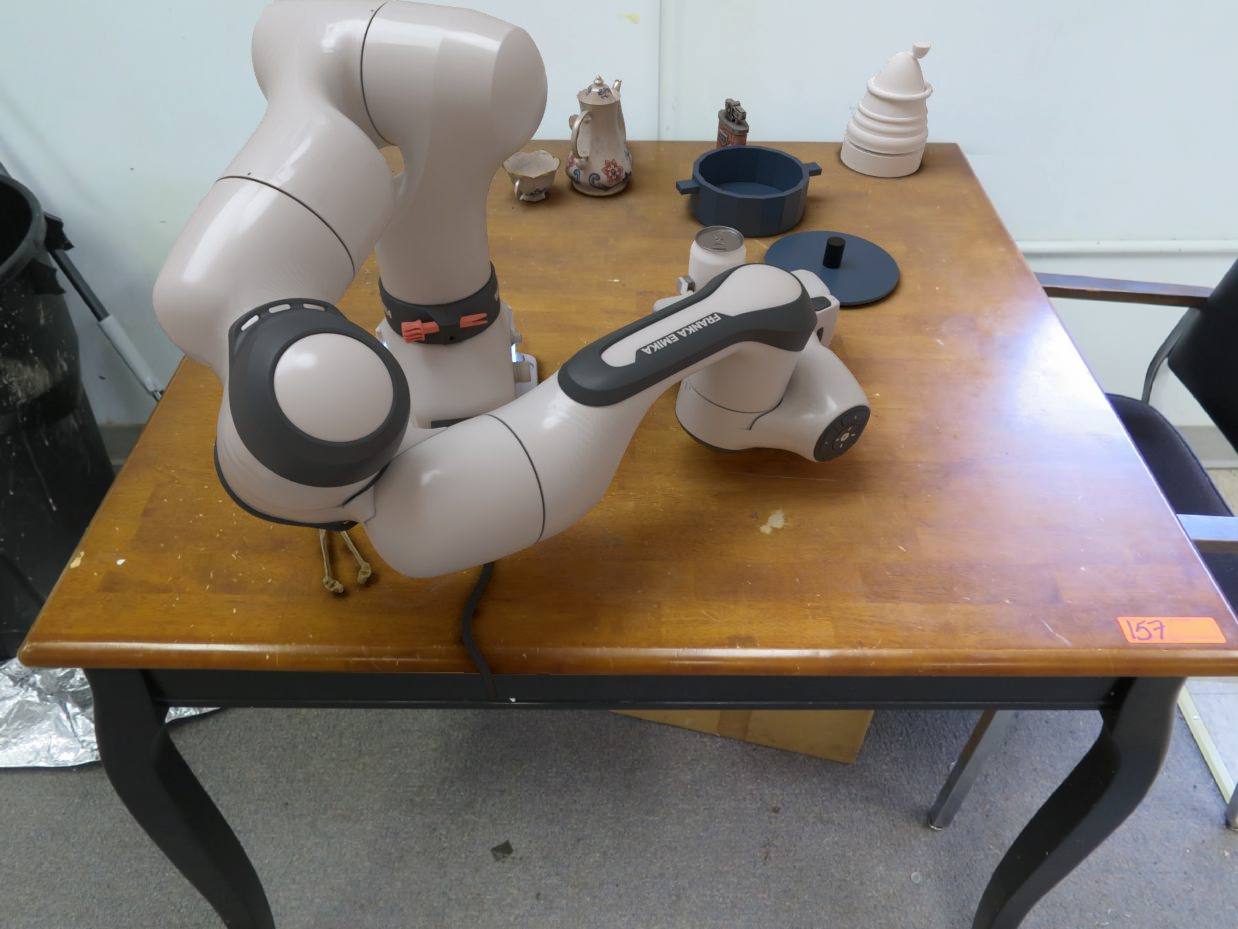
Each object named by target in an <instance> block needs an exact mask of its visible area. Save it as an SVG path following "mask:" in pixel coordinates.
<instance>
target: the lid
mask: <svg viewBox="0 0 1238 929" xmlns="http://www.w3.org/2000/svg"><path fill="white" fill-rule="evenodd" d="M764 263H766V264H771V265H775V266H778V267H781V268H784V269H786V270H788V271H789V272H792V271H796V270H801V269H802V270H807V271H810V272H813V273H814V274H815V275H816V276H818V277H819V278H820V279H821V281H822V282H823V283H824V284H825V285H826V286H827V288H828V289H829V291H830V295H832V296H834V297H835V298H836V299H837V300H838V301H839V302H840V306H856V305H863V304H867V303H872V302H874V301H877V300H880V299H882V298H884V297H886V296H887V295H889V294H890V293H891V292H892V291H893V290H894V289H895V288H896V286H897V284H898V281H899V278H900V277H899V276H900V271H899V267H898V264H897V262H896V261H895V259H894V257H893V256H892V255H891V254H890V253H889V252H887V251H886V249H884V248H882V247H881V246H880V245H878V244H876V243H875V242H872V241H870V240H867V239H865V238H863V237H860V236H857V235H854V234H850V233H845V232H840V231H833V230H807V231H806V230H805V231H800V232H799V231H798V232H794V233H790V234H788V235H785V236H783V237H781V238H779V239H777V240H776V241H774V242H773V243H772V244H771V245H770V246H769V247H768V249H767V250H766V252H765V255H764Z"/></svg>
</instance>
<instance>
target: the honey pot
mask: <svg viewBox="0 0 1238 929" xmlns="http://www.w3.org/2000/svg"><path fill="white" fill-rule="evenodd" d="M931 47H932V45H931V43H930V42H926V41H914V42H913V43H912V47H911V48H912V50H911V51H909V50H901V51H900V52H898V53H896V54H894V55H893V56H892V57H890V59H889V60H887V61H886V63H885V64H884V65H883V66H882V67H881V69H880V70H879V71H878V73H877V74H876V75H874V76H871V77H870V78H869V79H868V80H867V82H866V85H865V86H866V89H867V90H866V91H865V93H864V95H863V97H862V98H861V99H860V100H859V101H858V103H857V107H856V108H855V109H854V111H853V113H852V115H851V117H850V118H849V120H848V121H847V123H846V129H845V133H844V137H843V142H842V146H841V151H840V160H841V161H842V163H843V164H844V165H846V167H847V168H849V169H851V170H853V171H855V172H857V173H860V174H864V175H868V176H872V177H873V176H874V177H879V178H899V177H905V176H909V175H912V174H913V173H915V172H916V171H917V170H919V167H920V165H921V162H922V159H923V155H924V151H925V148H926V144H927V139H928V138H929V128H928V121H929V120H928V116H927V115H928V113H929V110H928V106H927V99H928V98H930V97H931V96H932V94H933V92H934V90H933V86H932V85H931V83H929V81H927V80H925V79H924V76H923V71H922V68H921V65H920V62H919V60H920V59H923V58H925V57H926V56H927V55H928V53H929V52H930V49H931Z"/></svg>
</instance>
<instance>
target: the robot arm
mask: <svg viewBox="0 0 1238 929" xmlns="http://www.w3.org/2000/svg"><path fill="white" fill-rule="evenodd" d="M250 54H251V62H252V68H253V72H254V77H255V79H256V82H257V84H258V87H259V89H260V91H261V93H262V95H263V96H264V98H265V100H266V101H267V106H266V109H265V111H264V115H263V116H262V118H261V120H260V122H259V124H258V125H257V127H255V129H254V130H253V131H252V133H251V134H250V136H249V137H248V138H247V139H246V141H245V143H244V144H243V145H242V146H241V148H240V150H238V152H237V153H236V154H235V156H234V157H233V158H232V160H231V161H230V162H229V164H228V165H227V166H226V167H225V169H224V170H223V172H222V173H221V174H220V175H219V177H217V179H216V180H215V181H214V182H213V184H212V185H211V187H210V188H209V189H208V191H207V192H206V193H205V194H204V196H203V197H202V198H201V199H200V201H199V202H198V204H197V205H196V207H195V208H194V210H193V211H192V213H191V214H190V216H189V217H188V218H187V220H186V221H185V223H184V225H183V227H182V228H181V230H180V232H179V234H178V235H177V237H176V238H175V240H174V242H173V244H172V246H171V248H170V249H169V251H168V254H167V256H166V258H165V260H164V261H163V263H162V267H161V268H160V270H159V273H158V276H157V278H156V279H155V282H154V285H153V289H152V298H151V303H152V310H153V314H154V317H155V319H156V322H157V324H158V325H159V327H160V329H161V331H162V332H163V333H164V335H166V338H168V339H169V341H170V342H171V343H172V344H173V345H174V346H175V347H176V348H177V349H178V350H180V352H182V353H183V354H184V355H186V356H187V357H188V358H190V359H191V360H193V361H194V362H196V363H198V364H200V365H202V366H204V367H206V368H207V369H210V371H211V372H212V373H214V375H215V376H216V377H217V378H218V380H220V382H221V386H222V389H223V393H222V398H221V404H220V408H219V412H218V418H217V423H216V424H217V425H216V426H217V427H216V437H215V441H214V446H213V462H214V467H215V471H216V474H217V477H218V480H219V482H220V484H221V487H222V488H223V490H224V491H225V492H226V494H227V496H228V497H229V498H230V499H231V500H232V502H234V504H236V505H237V506H238V507H239V508H240V509H242V510H243V511H245V512H246V513H247V514H249V515H251V516H253V517H255V518H257V519H260V520H263V521H265V522H270V523H274V524H278V525H284V526H292V527H303V528H312V529H318V530H319V529H324V530H325V531H332V532H338V533H339V532H342V531H346V532H347V531H349V530H351V529H353V528H354V527H356V526H357V525H358V524H360V526H361V527H362V529H363V531H364V532H365V534H366V536H367V538H368V541H369V543H370V545H371V546H372V548H373V549H374V551H375V552H376V554H377V555H378V556H379V557H380V558H381V560H382V561H383V562H384V563H385V564H386V565H388V566H389V568H391V569H392V570H394V571H396V572H397V573H399V574H401V575H403V576H406V577H409V578H413V579H431V578H436V577H440V576H444V575H448V574H454V573H458V572H461V571H465V570H468V569H473V568H476V567H479V566H483V567H482V570H481V572H480V575H479V578H478V579H477V581H476V583H475V585H474V587H473V589H472V590H471V593H470V594H469V596H468V598H467V601H466V602H465V605H464V608H463V611H462V615H461V625H460V628H461V629H460V630H461V637H462V642H463V644H464V647H465V649H466V651H467V653H468V655H469V656H470V658H471V660H472V662H473V663H474V665H475V666H476V669H477V670H478V672H479V674H480V676H481V680H482V681H483V684H484V688H485V692H486V695H487V698H488V699H490V700H495V699H496V698H497V697H498V690H497V686H496V682H495V679H494V676H493V673H492V671H491V669H490V667H489V665H488V663H487V661H486V659H485V658H484V656H483V654H482V653H481V652H480V650H479V648H478V646H477V645H476V642H475V640H474V638H473V632H472V619H473V615H474V611H475V609H476V606H477V603H478V601H479V599H480V597H481V595H482V594H483V591H484V590H485V588H486V586H487V584H488V581H489V579H490V577H491V574H492V572H493V567H494V562H496V561H498V560H500V559H503V558H506V557H508V556H511V555H514V554H516V553H518V552H519V553H520V552H521V551H523V550H525V549H528V548H530V547H532V546H535V545H537V544H539V543H541V542H543V541H546V540H548V539H550V538H552V537H555V536H557V535H559V534H560V533H562V532H565V531H566V530H567V529H569V528H570V527H572V526H574V525H575V524H576V523H577V522H579V521H580V520H581V519H583V518H584V517H586V516H587V514H589V513H590V512H591V511H592V510H594V509H595V508H596V506H598V504H600V503H601V501H602V499H603V498H604V496H605V495H606V494H607V491H608V489H609V487H610V485H611V483H612V481H613V479H614V477H615V476H616V475H615V474H616V472H617V470H618V468H619V466H620V464H621V461H622V459H623V457H624V455H625V453H626V451H627V448H628V447H629V445H630V442H631V441H632V439H633V437H634V435H635V433H636V431H637V429H638V427H639V426H640V424H641V422H642V421H643V419H644V418H645V416H646V414H647V413H648V411H649V410H650V409H651V407H653V405H654V403H655V402H656V401H657V400H658V399H659V397H661V396H662V395H663V394H664V393H665V392H666V391H667V390H668V389H669V388H671V387H672V386H674V385H675V384H677V383H679V382H680V386H679V389H678V393H677V397H676V402H675V405H674V414H675V417H676V419H677V422H678V423H679V425H680V427H681V428H682V430H683V431H684V432H685V433H686V435H687V436H689V437H690V439H692V440H693V441H695V443H697V444H699V445H700V446H702V447H703V448H705V449H706V450H709V451H711V452H714V453H718V454H735V453H742V452H747V451H752V450H755V449H760V448H765V449H766V448H767V449H777V450H783V451H784V450H785V451H788V452H792V453H795V454H797V455H799V456H801V457H803V458H805V459H806V460H809V461H811V462H813V463H826V462H830V461H833V460H835V459H837V458H839V457H840V456H842V455H844V454H846V452H848V450H850V449H851V448H852V447H853V446H854V445H855V444H856V443H857V442H858V440H859V439H860V437H861V436H862V435H863V433H864V430H865V429H866V427H867V425H868V422H869V420H870V417H871V413H872V409H871V404H870V402H869V399H868V397H867V395H866V392H865V391H864V389H863V387H862V386H861V384H860V383H859V381H858V380H857V378H856V377H855V376H854V374H853V373H852V371H850V369H849V368H848V367H847V366H846V365H845V363H844V362H843V361H842V360H841V359H840V358H839V357H838V355H836V353H834V351H832V350H831V349H829V348H830V346H831V343H832V341H833V338H834V334H835V331H836V327H837V324H838V318H839V313H840V306H841V305H840V302H839V301H838V300H837V299H836V298H835V297H834V296H832V295H830V291H829V289H828V288H827V286H826V285H825V284H824V283H823V282H822V281H821V279H820V278H819V277H818V276H816V275H815V274H814V273H813V272H810V271H807V270H802V269H801V270H796V271H792V272H789V271H788V270H786V269H784V268H781V267H778V266H775V265H771V264H766V263H765V262H745V264H742V265H739V266H736V267H733V268H731V269H728V270H726V271H724V272H723V273H721V274H719V275H717V276H715V277H714V278H712V279H711V280H710V281H709V282H708V283H707V284H706V285H705V286H704V287H703V288H702V289H701V290H699V291H698V292H694V289H693V287H694V280H693V279H692V278H690V276H689V275H688V274H687V275H684V276H682V275H681V276H678V277H677V278H676V290H677V292H678V293H679V295H675V296H670V297H665V298H660V299H657V300H655V303H654V304H653V306H652V309H651V313H650V314H648V315H646V316H643V317H641V318H639V319H637V320H635V321H633V322H631V323H628V324H625V325H624V326H622V327H620V328H618V329H616V330H613V331H611V332H610V333H608V334H606V335H604V336H601V337H600V338H598V339H596V340H594V341H592V342H590V343H588V344H587V345H585V346H584V347H582V348H581V349H579V350H578V351H577V352H575V353H574V354H573V355H572V356H571V357H570V358H568V359H567V360H566V361H565V362H564V363H563V364H562V365H561V366H560V368H558V369H557V370H556V371H555V372H553V373H552V374H551V375H550V376H549V377H547V378H546V379H545V380H543V381H541V383H539V368H538V363H537V359H536V358H535V357H534V356H533V355H530V354H527V353H524V352H518V347H517V345H522V344H523V336H522V331H521V330H515V320H514V312H513V307H512V306H511V305H510V304H508V303H507V302H505V301H503V300H501V298H500V285H499V284H500V283H499V278H498V275H497V273H496V268H495V265H494V263H493V262H492V261H491V257H490V246H489V238H488V224H487V223H488V221H487V220H488V219H487V202H488V201H487V200H488V195H489V190H490V188H491V184H492V182H493V179H494V177H495V176H496V174H497V172H498V171H499V169H500V168H501V167H502V164H503V163H504V162H505V161H508V159H509V157H511V156H512V155H513V154H515V153H517V152H518V151H522V149H523V148H524V147H525V146H527V144H528V143H529V142H530V141H531V140H532V139H533V137H534V136H535V134H536V133H537V131H538V130H539V127H540V125H541V124H542V121H543V118H544V116H545V112H546V109H547V108H546V107H547V102H548V91H549V89H548V88H549V87H548V76H547V70H546V67H545V63H544V61H543V60H544V59H543V57H542V54H541V52H540V49H539V48H538V46H537V44H536V42H535V41H534V39H533V37H531V35H530V33H529V32H528V31H527V30H526V29H524V28H523V27H521V26H518V25H516V24H513V23H511V22H508V21H505V20H503V19H501V18H498V17H496V16H493V15H490V14H487V13H484V12H481V11H479V10H476V9H472V8H467V7H459V6H451V5H443V4H442V5H441V4H433V3H425V2H418V1H408V0H273V1H271V2H269V4H267V5H266V6H265V8H263V10H262V11H261V13H260V14H259V17H258V19H257V21H256V23H255V25H254V29H253V32H252V38H251V53H250ZM390 146H391V147H393V146H394V147H397V148H398V149H399V152H400V154H401V156H402V159H403V165H404V166H403V167H404V171H401V172H399V173H398V174H396V175H394V176H393V173H392V170H391V168H390V166H389V164H388V162H387V160H386V159H385V157H384V155H383V154H382V152H381V151H380V150H381V149H384V148H386V147H390ZM372 251H373V252H374V256H375V260H376V264H377V269H378V272H379V276H378V280H377V281H378V282H377V285H378V291H379V292H378V295H379V299H380V304H381V307H382V309H383V312H384V317H383V319H382V320H381V322H380V323H379V324H378V326H377V327H376V328H375V334H376V337H375V336H374V335H373V334H372V333H370V332H369V331H368V330H366V329H364V328H363V327H362V326H361V325H359V324H357V323H355V322H353V321H351V320H350V319H349V318H348V317H347V316H346V315H345V314H344V313H343V312H342V311H341V310H339V308H337V305H338V304H339V302H340V301H341V299H342V297H343V296H344V295H345V293H346V292H347V290H348V289H349V288H350V286H351V284H352V283H353V281H354V279H355V278H356V277H357V275H358V273H359V272H360V270H361V269H362V267H363V265H364V264H365V262H366V261H367V259H368V258H369V256H370V254H371V253H372Z"/></svg>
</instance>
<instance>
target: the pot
mask: <svg viewBox="0 0 1238 929" xmlns="http://www.w3.org/2000/svg"><path fill="white" fill-rule="evenodd" d="M822 172H823V168H822V167H821V166H820V165H819V164H818V163H817V162H816V161H811V162H802V160H800V159H799V158H798V157H796V156H794V155H792V154H789V153H788V152H785V151H783V150H781V149H776V148H772V147H767V146H763V145H751V144H749V145H748V144H746V145H734V146H726V147H719V148H716V147H715V148H714V149H711V150H707V151H706V152H702V153H701V155H700V156H698V157H697V158H696V160H694V161H693V163H692V175H691V178H690V179H683V180H676V181H675V189H676V190H677V192H678V193H679V195H680V196H684V195H685V196H686V195H690V202H689V209H690V212H691V214H692V216H693V217H694V218H695V219H696V220H697V222H699V223H700V224H701V225H703V226H705V228H706V227H710V226H725V227H729V228H733V229H735V230H737V231H739V232H740V233H741V234H742V235H743V237H744V238H763V237H771V236H775V235H779V234H782V233H785V232H787V231H789V230H791V229H792V228H794V227H795V226H797V225H798V223H800V220H801V219H802V217H803V214H804V212H805V207H806V206H805V205H806V200H807V195H808V189H809V184H810V180H811V179H810V178H812V177H818V176H821V175H822Z"/></svg>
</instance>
